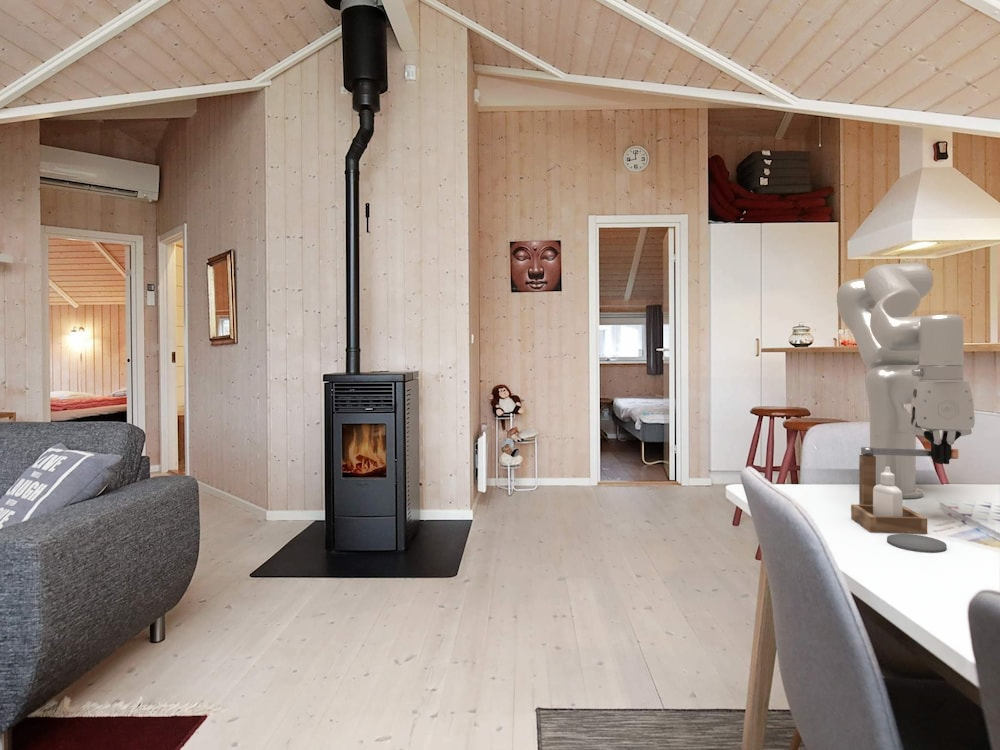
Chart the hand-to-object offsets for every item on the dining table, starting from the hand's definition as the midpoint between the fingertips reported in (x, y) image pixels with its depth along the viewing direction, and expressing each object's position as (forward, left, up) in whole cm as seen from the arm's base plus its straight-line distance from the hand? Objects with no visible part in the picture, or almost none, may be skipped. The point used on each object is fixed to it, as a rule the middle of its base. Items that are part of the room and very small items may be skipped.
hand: (941, 462), depth 126 cm
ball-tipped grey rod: (-3, -5, +1) cm, 6 cm away
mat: (+18, -12, -12) cm, 25 cm away
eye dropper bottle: (+6, -12, -12) cm, 18 cm away
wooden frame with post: (+2, -12, -12) cm, 17 cm away
